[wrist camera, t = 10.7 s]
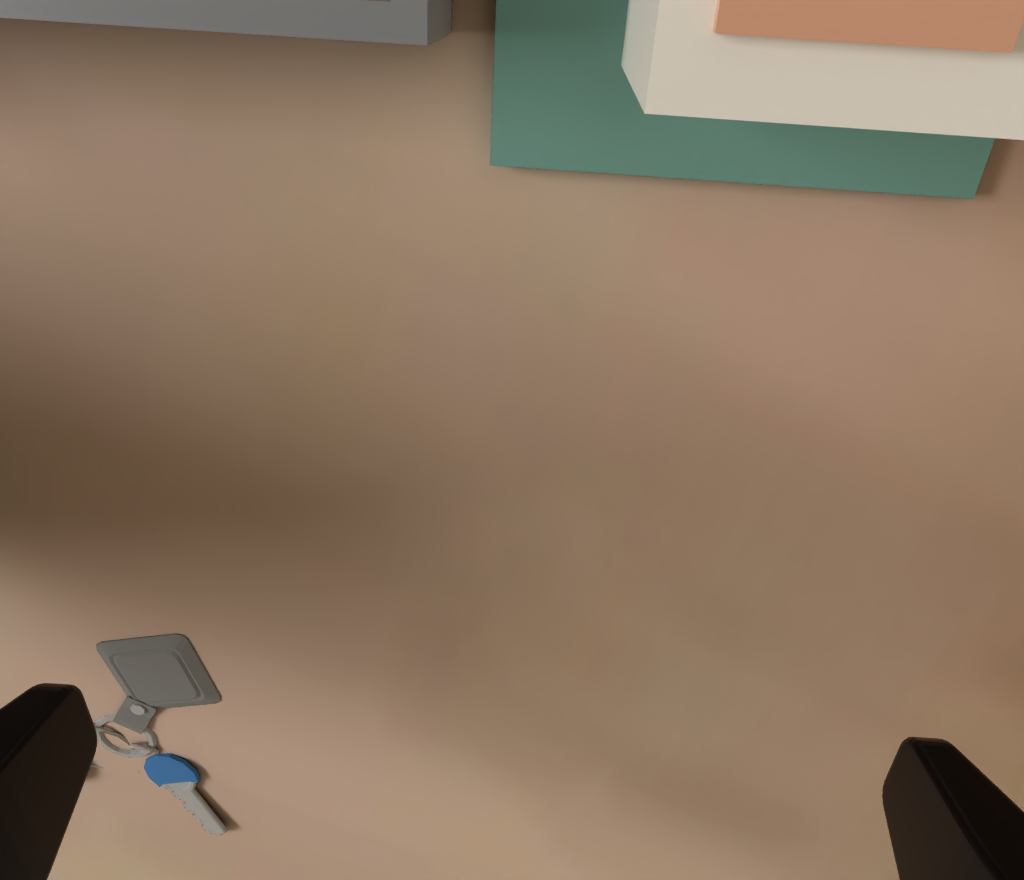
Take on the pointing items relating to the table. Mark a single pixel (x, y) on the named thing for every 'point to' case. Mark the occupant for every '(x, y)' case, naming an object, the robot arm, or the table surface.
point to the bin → (257, 17)
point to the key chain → (155, 685)
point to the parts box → (833, 63)
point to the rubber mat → (681, 120)
